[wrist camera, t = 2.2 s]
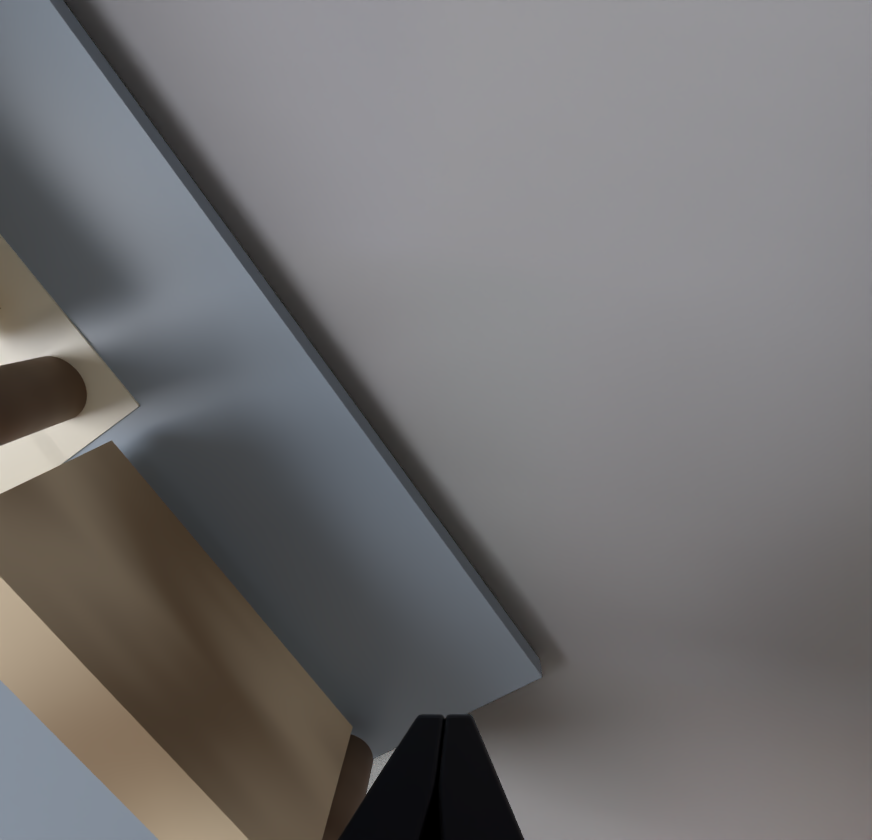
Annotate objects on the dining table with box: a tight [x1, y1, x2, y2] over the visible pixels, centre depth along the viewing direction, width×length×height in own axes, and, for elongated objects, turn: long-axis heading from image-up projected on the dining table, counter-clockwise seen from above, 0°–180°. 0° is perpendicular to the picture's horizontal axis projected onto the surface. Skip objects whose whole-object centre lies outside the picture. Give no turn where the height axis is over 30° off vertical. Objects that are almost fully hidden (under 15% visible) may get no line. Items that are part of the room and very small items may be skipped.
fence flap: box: [0, 440, 373, 840], centre depth 10 cm, size 10×1×5 cm, turn 34°
